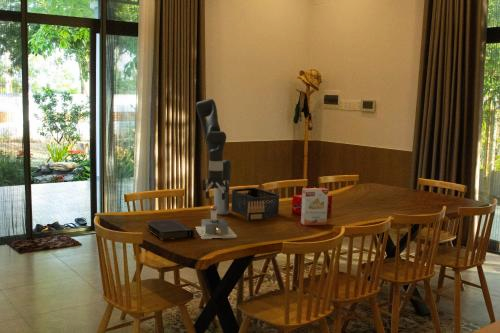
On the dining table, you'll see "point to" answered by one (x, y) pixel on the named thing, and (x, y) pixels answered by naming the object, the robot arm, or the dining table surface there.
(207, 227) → the grey stand
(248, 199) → the storage bin
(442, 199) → the dining table surface
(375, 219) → the dining table surface
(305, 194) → the cracker box
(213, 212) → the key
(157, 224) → the diary
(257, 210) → the ammunition clip
